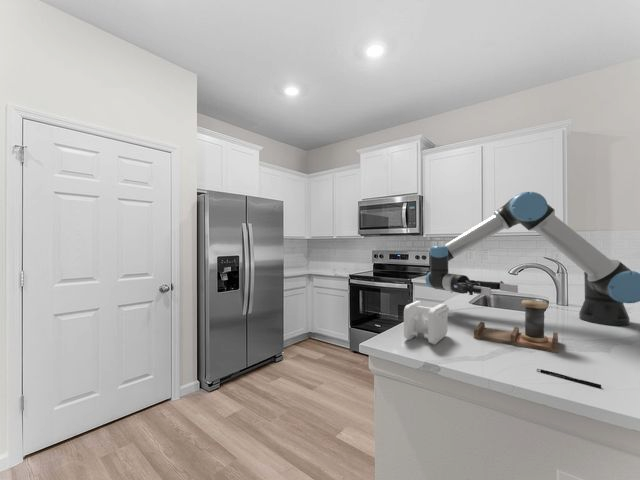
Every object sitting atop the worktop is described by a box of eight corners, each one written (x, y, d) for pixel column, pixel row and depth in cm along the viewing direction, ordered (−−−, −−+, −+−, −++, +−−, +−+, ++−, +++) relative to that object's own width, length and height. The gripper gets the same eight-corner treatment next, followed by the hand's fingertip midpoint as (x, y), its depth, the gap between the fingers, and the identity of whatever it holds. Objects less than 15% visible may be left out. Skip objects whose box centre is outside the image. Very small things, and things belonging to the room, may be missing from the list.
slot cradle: (557, 342, 100) (557, 332, 100) (557, 352, 90) (557, 342, 90) (481, 329, 114) (481, 321, 114) (474, 338, 104) (473, 329, 104)
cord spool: (547, 338, 99) (548, 302, 99) (547, 344, 94) (548, 305, 94) (522, 334, 104) (522, 299, 103) (520, 340, 98) (520, 302, 98)
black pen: (536, 372, 78) (536, 368, 78) (537, 371, 78) (537, 367, 79) (600, 389, 69) (600, 385, 69) (601, 388, 69) (601, 384, 69)
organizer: (419, 330, 113) (419, 299, 113) (449, 336, 107) (449, 302, 107) (403, 341, 102) (402, 306, 102) (435, 348, 95) (435, 310, 95)
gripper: (478, 290, 132) (527, 298, 113) (433, 294, 123) (478, 304, 103) (478, 272, 132) (527, 277, 113) (433, 276, 123) (477, 282, 103)
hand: (504, 290), depth 108 cm, fingers open, 13 cm apart
